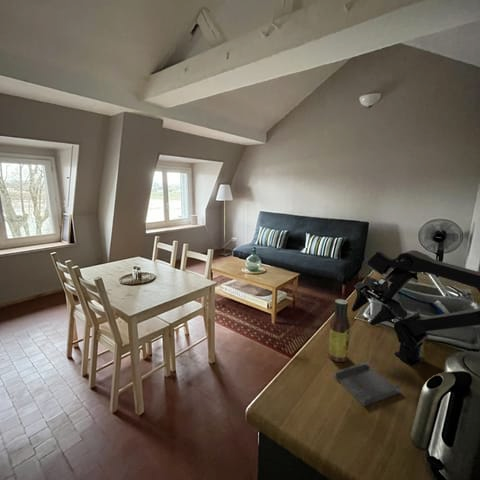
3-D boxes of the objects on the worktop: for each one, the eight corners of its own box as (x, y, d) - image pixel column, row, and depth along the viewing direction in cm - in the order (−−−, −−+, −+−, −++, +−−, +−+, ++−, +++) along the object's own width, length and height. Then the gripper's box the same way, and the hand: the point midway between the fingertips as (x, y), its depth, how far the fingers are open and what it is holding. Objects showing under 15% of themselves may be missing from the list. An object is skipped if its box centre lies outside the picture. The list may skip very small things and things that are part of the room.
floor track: (367, 366, 84) (367, 361, 84) (400, 392, 73) (400, 387, 73) (333, 376, 80) (334, 371, 79) (363, 406, 69) (364, 400, 69)
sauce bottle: (349, 364, 85) (354, 307, 81) (329, 361, 86) (333, 305, 82) (345, 352, 91) (350, 298, 87) (326, 349, 93) (330, 297, 88)
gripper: (361, 260, 94) (331, 291, 94) (404, 278, 76) (367, 317, 76) (378, 279, 97) (349, 309, 97) (422, 300, 80) (387, 338, 79)
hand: (361, 317), depth 87 cm, fingers open, 9 cm apart
